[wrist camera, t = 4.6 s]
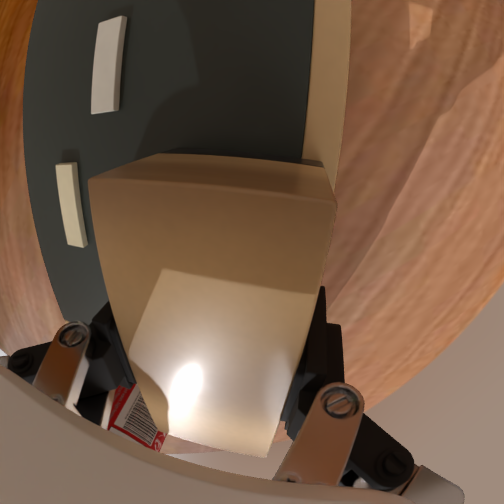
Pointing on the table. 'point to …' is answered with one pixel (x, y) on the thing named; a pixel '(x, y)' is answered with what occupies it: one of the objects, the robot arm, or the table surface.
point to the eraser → (214, 284)
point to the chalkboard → (174, 101)
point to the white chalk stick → (108, 65)
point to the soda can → (134, 419)
